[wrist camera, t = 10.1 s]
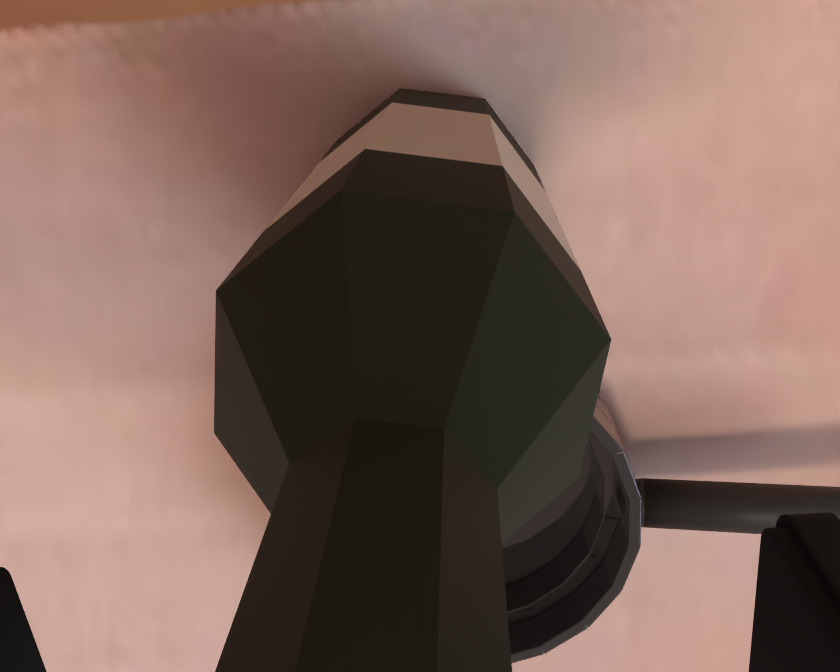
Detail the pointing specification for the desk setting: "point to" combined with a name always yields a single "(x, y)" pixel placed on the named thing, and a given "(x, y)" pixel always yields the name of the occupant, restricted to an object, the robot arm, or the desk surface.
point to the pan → (574, 549)
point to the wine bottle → (402, 393)
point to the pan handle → (727, 504)
